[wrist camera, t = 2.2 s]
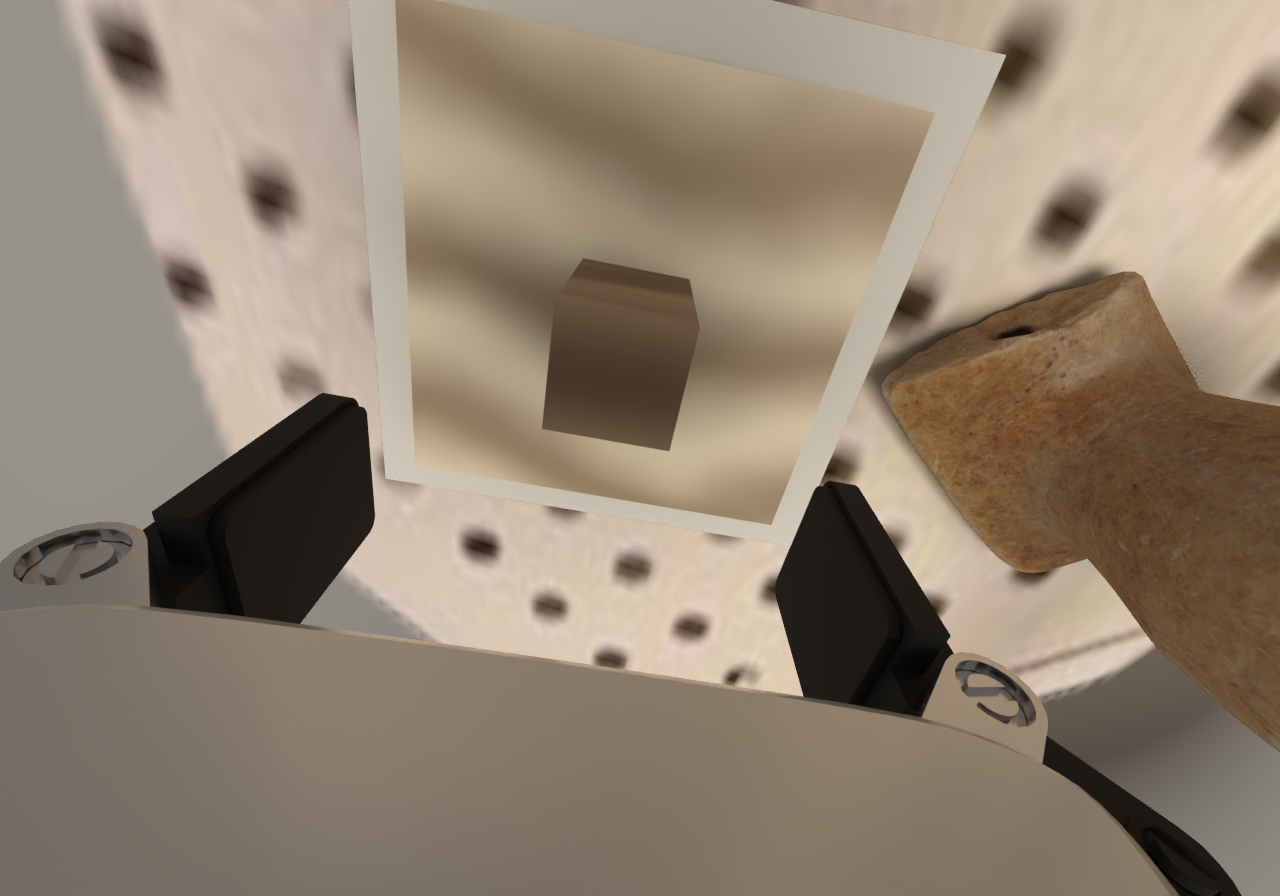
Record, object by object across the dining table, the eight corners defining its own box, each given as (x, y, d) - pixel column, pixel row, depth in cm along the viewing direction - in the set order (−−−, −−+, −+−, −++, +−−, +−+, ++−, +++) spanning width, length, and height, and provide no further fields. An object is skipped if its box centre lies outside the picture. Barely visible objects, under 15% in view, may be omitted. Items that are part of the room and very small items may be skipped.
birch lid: (411, 0, 17) (261, -87, 10) (918, 114, 18) (1060, 97, 11) (425, 451, 25) (347, 553, 19) (766, 509, 26) (800, 624, 20)
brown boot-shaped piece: (1247, 454, 24) (1913, 804, 11) (993, 571, 28) (1271, 926, 16) (1158, 173, 19) (2259, 236, 6) (858, 369, 23) (1116, 660, 10)
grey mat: (350, -94, 16) (340, -102, 15) (995, 58, 17) (1005, 55, 17) (391, 472, 26) (385, 478, 26) (789, 538, 28) (792, 546, 27)
